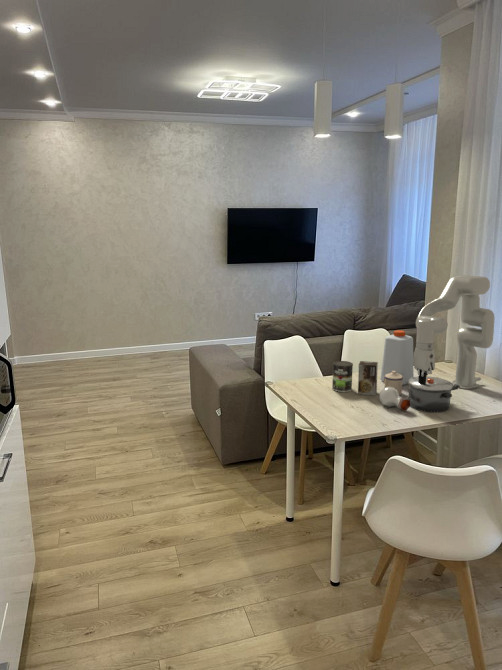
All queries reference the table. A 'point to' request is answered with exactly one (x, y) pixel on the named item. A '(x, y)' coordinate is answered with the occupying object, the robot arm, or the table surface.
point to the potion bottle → (393, 398)
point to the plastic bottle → (398, 356)
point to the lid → (431, 384)
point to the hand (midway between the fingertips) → (422, 383)
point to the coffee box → (367, 378)
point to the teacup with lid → (394, 381)
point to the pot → (430, 399)
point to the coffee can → (342, 376)
